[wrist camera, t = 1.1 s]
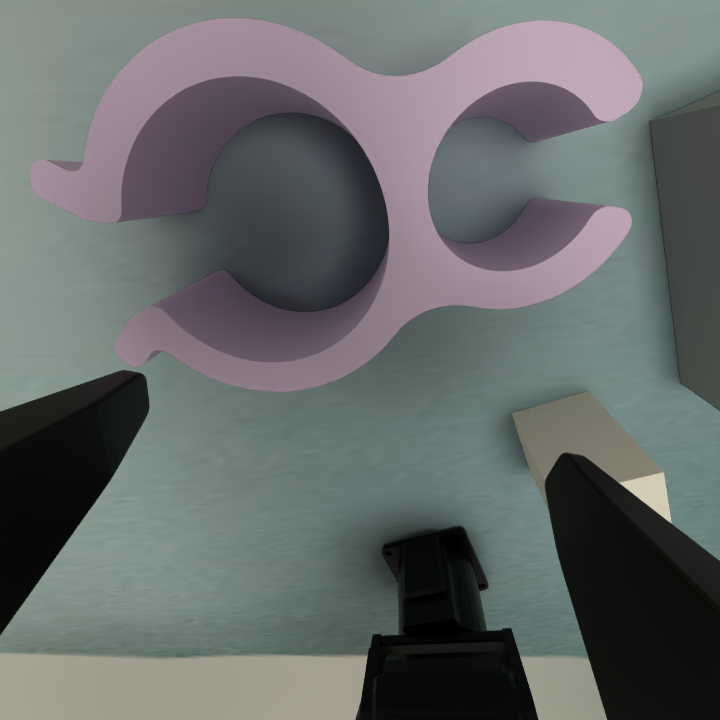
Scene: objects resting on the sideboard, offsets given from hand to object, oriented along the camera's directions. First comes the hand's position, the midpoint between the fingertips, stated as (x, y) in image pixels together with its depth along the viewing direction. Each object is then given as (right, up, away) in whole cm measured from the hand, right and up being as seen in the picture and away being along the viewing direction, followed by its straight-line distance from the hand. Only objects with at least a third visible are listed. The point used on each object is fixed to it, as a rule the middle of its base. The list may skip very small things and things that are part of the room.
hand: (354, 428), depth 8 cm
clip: (-1, +9, +12) cm, 15 cm away
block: (+12, -3, +16) cm, 20 cm away
